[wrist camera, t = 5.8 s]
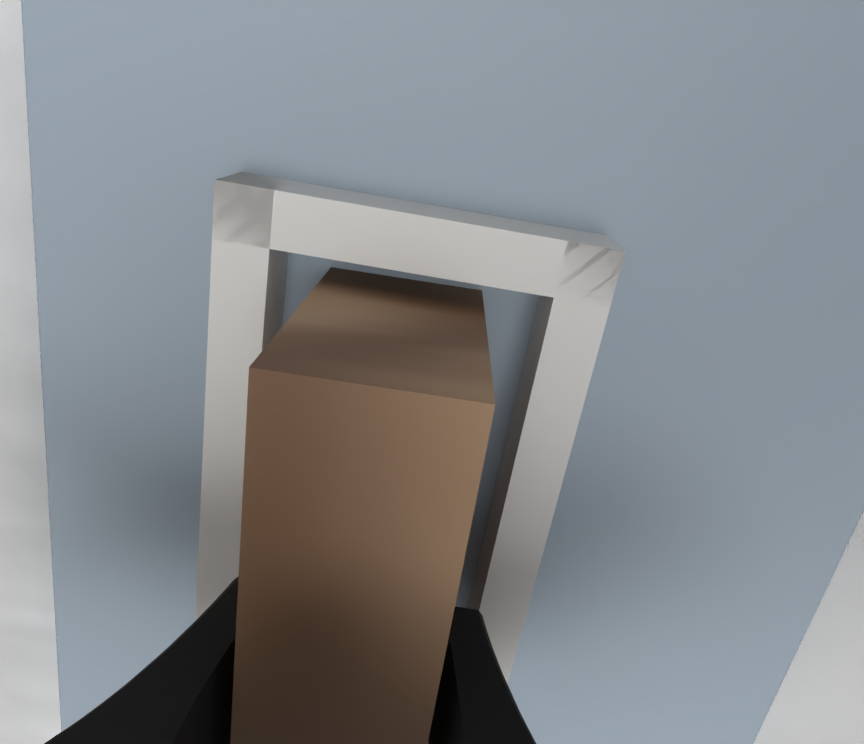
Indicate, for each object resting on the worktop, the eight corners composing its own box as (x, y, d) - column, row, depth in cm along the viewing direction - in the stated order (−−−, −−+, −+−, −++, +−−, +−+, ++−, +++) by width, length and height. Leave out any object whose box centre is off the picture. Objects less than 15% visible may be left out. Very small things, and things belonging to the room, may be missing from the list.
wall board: (1399, -756, 9) (1741, -1070, 6) (693, 810, 20) (724, 904, 17) (11, -1052, 8) (-164, -1505, 6) (81, 715, 19) (29, 798, 17)
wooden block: (482, 290, 13) (494, 404, 8) (402, 730, 18) (379, 984, 12) (330, 266, 13) (247, 367, 8) (288, 714, 18) (218, 962, 12)
